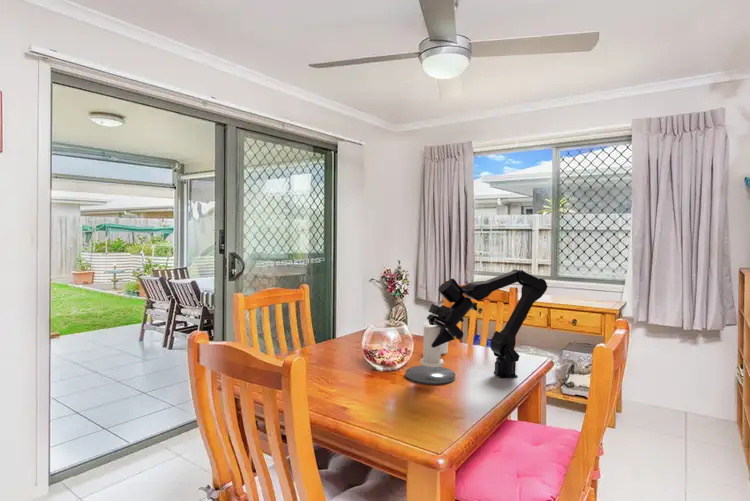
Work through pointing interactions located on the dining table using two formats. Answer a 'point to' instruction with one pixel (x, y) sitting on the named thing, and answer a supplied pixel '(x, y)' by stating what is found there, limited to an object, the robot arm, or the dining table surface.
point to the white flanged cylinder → (429, 353)
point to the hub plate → (430, 375)
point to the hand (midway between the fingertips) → (428, 344)
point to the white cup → (444, 348)
